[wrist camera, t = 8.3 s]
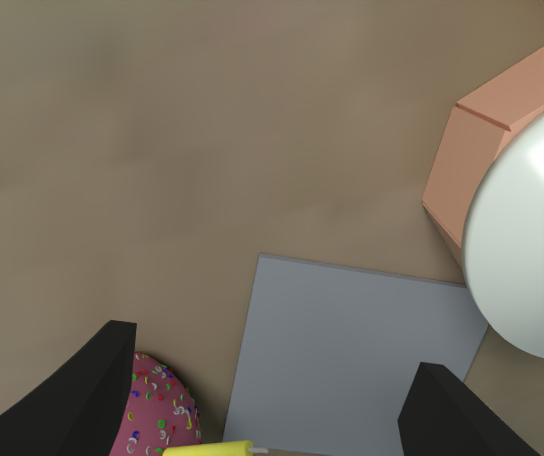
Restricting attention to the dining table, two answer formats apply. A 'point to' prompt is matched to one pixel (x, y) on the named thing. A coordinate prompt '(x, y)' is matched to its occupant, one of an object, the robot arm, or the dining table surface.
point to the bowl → (480, 142)
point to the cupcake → (166, 418)
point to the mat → (342, 354)
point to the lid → (510, 241)
